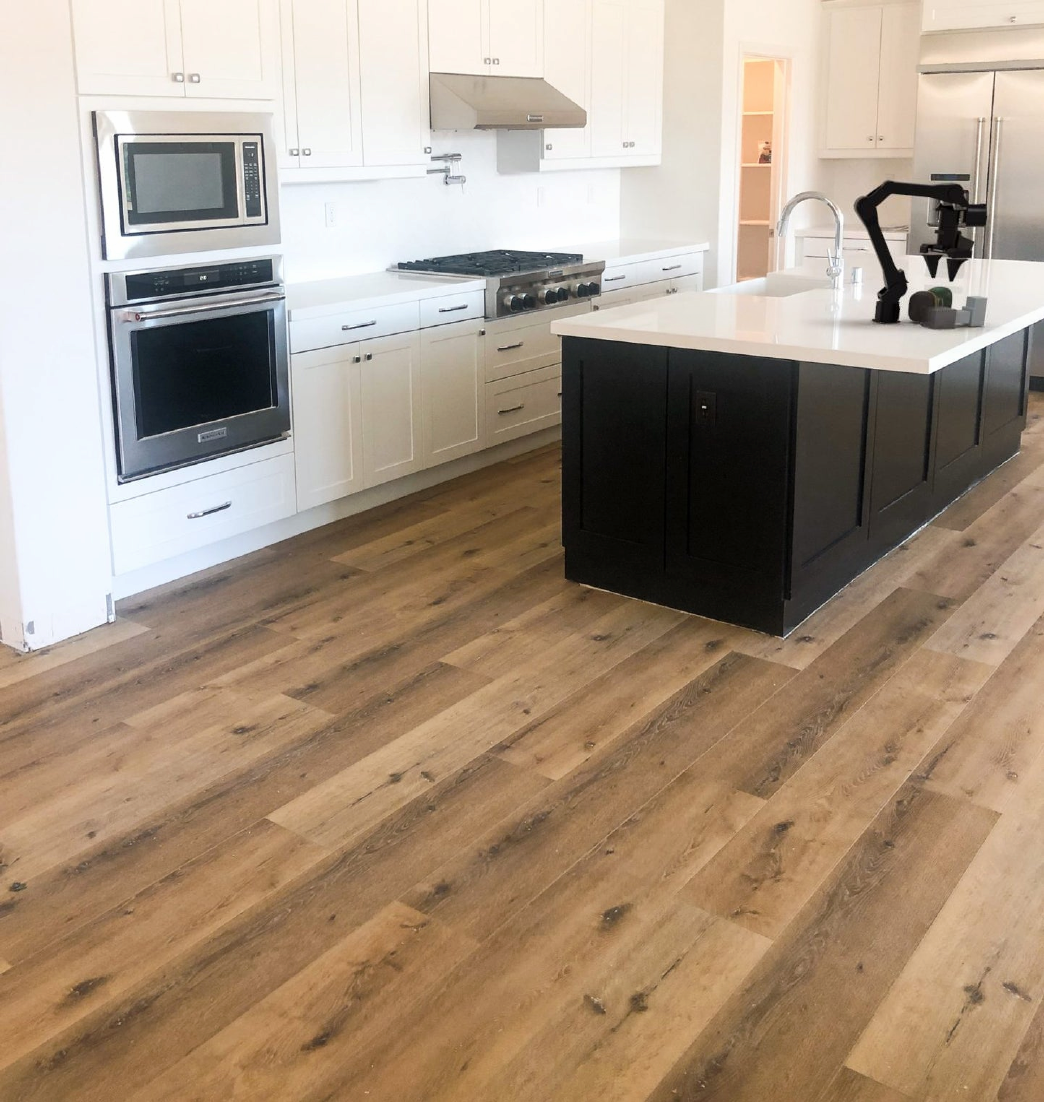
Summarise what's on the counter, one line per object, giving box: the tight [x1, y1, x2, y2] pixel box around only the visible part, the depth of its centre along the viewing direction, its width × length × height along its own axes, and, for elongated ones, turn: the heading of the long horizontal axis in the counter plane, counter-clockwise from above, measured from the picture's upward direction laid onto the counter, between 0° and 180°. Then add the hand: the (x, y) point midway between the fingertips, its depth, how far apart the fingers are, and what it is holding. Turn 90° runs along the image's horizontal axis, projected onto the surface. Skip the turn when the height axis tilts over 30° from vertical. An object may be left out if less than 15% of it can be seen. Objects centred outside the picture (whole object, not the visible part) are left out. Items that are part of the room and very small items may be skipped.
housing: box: [920, 306, 958, 330], centre depth 361 cm, size 7×7×6 cm
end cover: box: [955, 295, 988, 327], centre depth 363 cm, size 11×6×8 cm, turn 106°
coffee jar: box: [907, 286, 953, 323], centre depth 374 cm, size 10×8×19 cm
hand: (942, 280), depth 365 cm, fingers open, 9 cm apart
